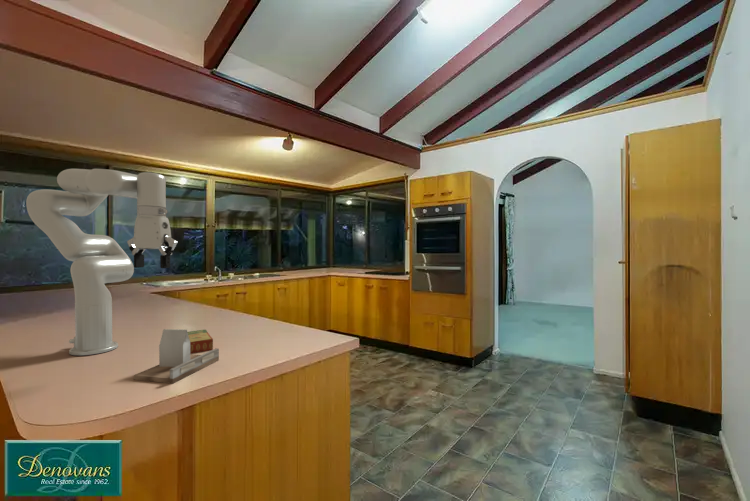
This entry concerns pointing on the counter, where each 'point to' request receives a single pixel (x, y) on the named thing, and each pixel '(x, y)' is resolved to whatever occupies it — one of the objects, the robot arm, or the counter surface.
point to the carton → (200, 341)
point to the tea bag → (174, 347)
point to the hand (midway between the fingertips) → (152, 267)
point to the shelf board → (178, 368)
